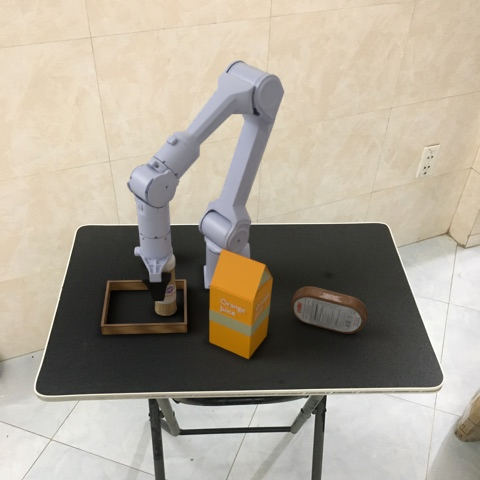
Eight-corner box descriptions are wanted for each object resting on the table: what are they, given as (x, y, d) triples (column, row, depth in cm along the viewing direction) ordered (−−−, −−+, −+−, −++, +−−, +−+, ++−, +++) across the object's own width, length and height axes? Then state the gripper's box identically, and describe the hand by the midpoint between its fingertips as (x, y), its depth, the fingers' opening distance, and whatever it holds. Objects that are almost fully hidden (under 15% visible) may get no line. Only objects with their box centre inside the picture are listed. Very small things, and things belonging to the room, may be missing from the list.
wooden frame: (186, 287, 119) (186, 279, 117) (187, 332, 108) (187, 324, 107) (108, 289, 117) (107, 280, 116) (102, 334, 107) (100, 326, 105)
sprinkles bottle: (165, 320, 111) (162, 267, 102) (150, 309, 113) (145, 256, 104) (181, 309, 113) (179, 256, 104) (166, 299, 116) (163, 246, 106)
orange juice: (248, 359, 104) (255, 276, 90) (208, 342, 107) (209, 259, 93) (267, 335, 109) (276, 253, 95) (228, 319, 112) (232, 237, 98)
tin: (363, 330, 111) (372, 298, 105) (360, 340, 109) (369, 309, 103) (291, 311, 114) (296, 280, 109) (287, 321, 112) (292, 289, 106)
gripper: (134, 208, 105) (140, 265, 114) (129, 253, 94) (136, 312, 103) (172, 208, 105) (174, 265, 115) (171, 253, 95) (174, 311, 104)
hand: (159, 287), depth 109 cm, fingers open, 7 cm apart
